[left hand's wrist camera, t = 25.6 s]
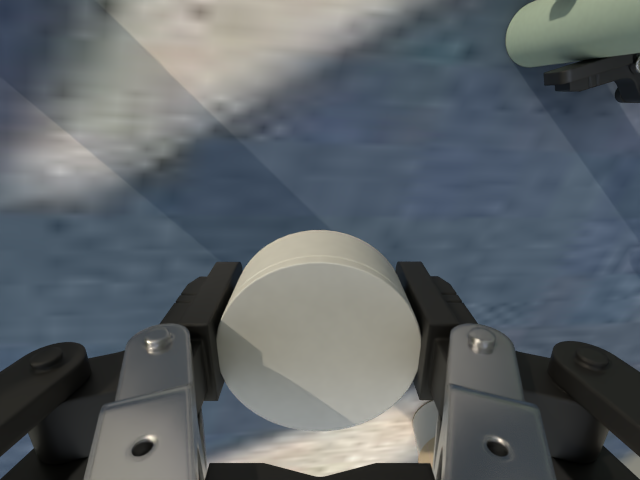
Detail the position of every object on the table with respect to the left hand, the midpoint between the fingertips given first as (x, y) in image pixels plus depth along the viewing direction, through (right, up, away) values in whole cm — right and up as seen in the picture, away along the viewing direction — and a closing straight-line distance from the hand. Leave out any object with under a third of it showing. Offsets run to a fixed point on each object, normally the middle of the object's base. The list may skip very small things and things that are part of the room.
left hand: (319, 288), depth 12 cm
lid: (0, -1, -3) cm, 3 cm away
